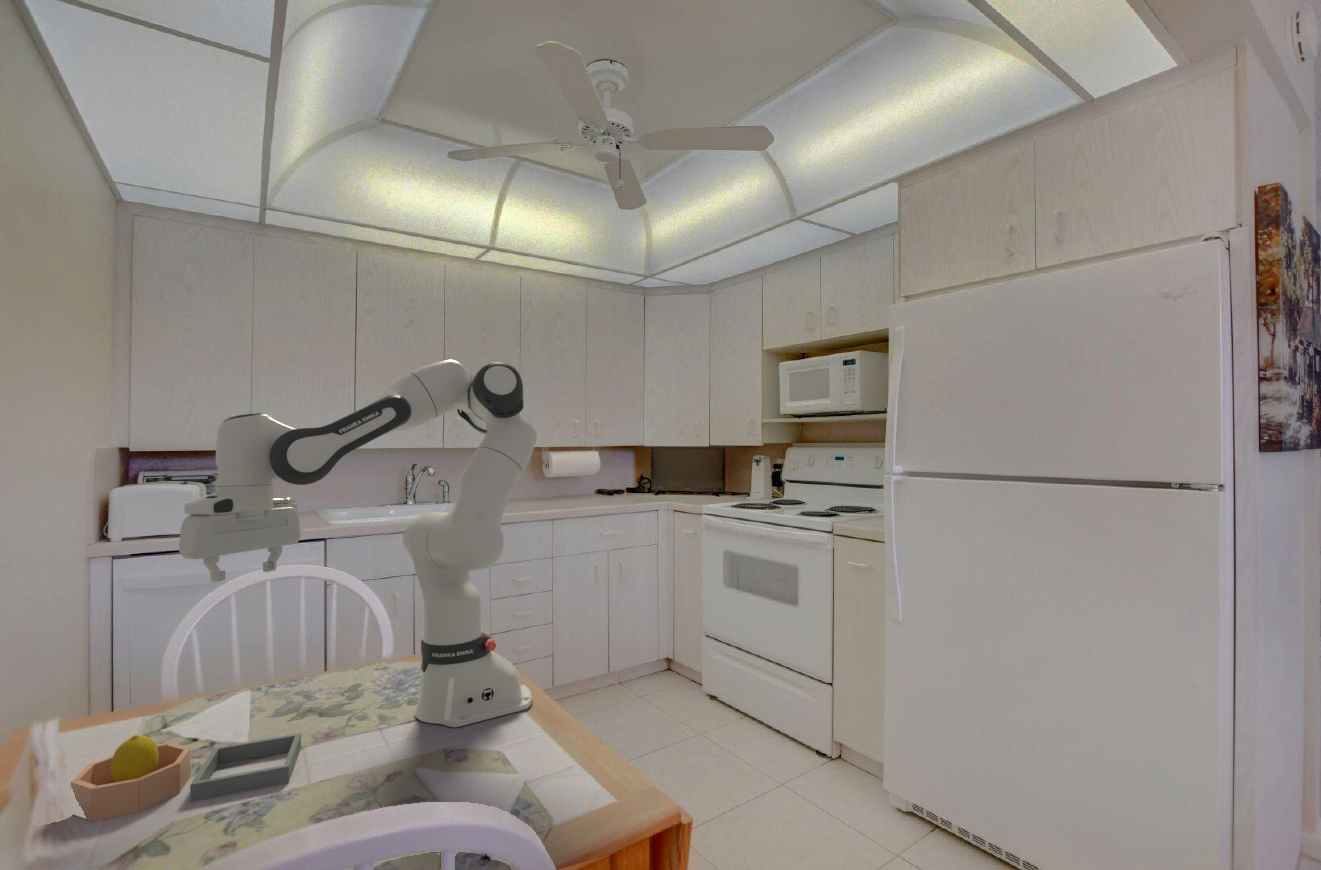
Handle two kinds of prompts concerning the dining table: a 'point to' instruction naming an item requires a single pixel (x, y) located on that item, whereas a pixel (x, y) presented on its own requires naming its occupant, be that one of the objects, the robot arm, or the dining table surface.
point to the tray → (247, 780)
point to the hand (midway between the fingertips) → (244, 576)
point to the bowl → (131, 785)
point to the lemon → (134, 759)
